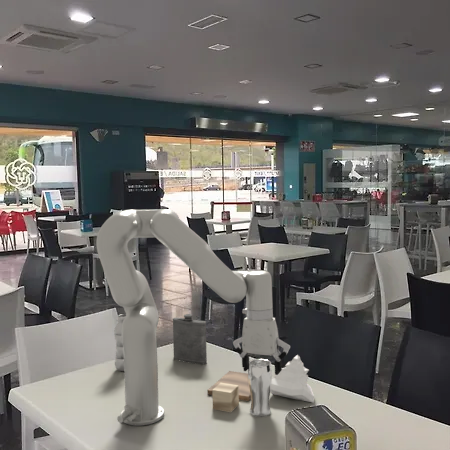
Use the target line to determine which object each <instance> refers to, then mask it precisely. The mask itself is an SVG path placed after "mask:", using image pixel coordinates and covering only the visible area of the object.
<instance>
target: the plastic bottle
mask: <svg viewBox="0 0 450 450" xmlns="http://www.w3.org/2000/svg"><path fill="white" fill-rule="evenodd" d="M125 317H126V314H119V315H117V317H116V318H117V320H116V321H117V323H116V325H115V327H114V330H113V334H114V340H115V359H114V367H115V369H116V370H117V371H120V372H124V352H123V342H122V324H123V321H124V319H125Z"/></svg>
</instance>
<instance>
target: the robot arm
mask: <svg viewBox="0 0 450 450" xmlns="http://www.w3.org/2000/svg"><path fill="white" fill-rule="evenodd" d="M134 238H135V239H137V238H138V239H140V238H141V239H142V238H143V239H144V238H145V239H148V238H156V239H157V240H158V242H160V243H161V244H162V245H163V246H164V247H166V248H167V249H168V250H169V251H170V252H171V253H173V254H174V255H175V256H176V257H177V258H178V259H179V260H180V261H181V262H183V263H184V264H185V265H186V267H188V269H190V270H191V272H193V273H194V274H196V276H197V277H198V278H200V280H202V282H204V284H205V285H206V286H208V288H210V289H211V290H212V291H213V292H215V294H217V295H218V296H219V297H220V298H221V299H223V300H224V302H225V301H226V302H228V303H231V304H232V303H233V304H235V303H239V302H241V301H242V300H243V299H244V298H246V299H245V302H246V308H243V309H242V311H241V312H242V314H243V315H244V314H245V316H246V317H245V318H244V319H243V323H242V324H243V325H242V335H241V337H239V338H237V339H235V340H233V341H232V344H233V347H234V348H235V351H236V353H238V355H239V356H240V358H241V365H242V369H243V372H248V365H249V361H250V356H249V354H251V355H260V356H261V355H263V356H273V358H274V359H275V361H274V375H275V374H276V375H278V374H279V373H280V371H281V370H282V368H283V364H282V360H283V358H285V357H286V356H287V355H288V353H289V350H290V349H291V345H290V344H288V343H287V342H285V341H283V340H282V339H280V338H279V330H278V325H277V321H276V317H274V314H273V310H274V309H273V308H274V307H273V287H272V286H273V284H272V280H273V279H272V275H271V273H270V272H269V271H267V270H253V271H239V270H232V269H230V268H229V266H227V265H226V263H224V262H223V261H222V260H221V259H220V258H219V257H218V256H217V255H216V254H215V253H214V251H213V249H212V248H211V246H210V245H209V244H208V242H206V240H205V239H203V238H202V237H200V235H198V234H197V233H196V232H195V231H194V230H192V229H191V228H190V227H189V226H188V225H187V224H186V223H185V222H184V221H183V220H182V219H181V218H180V216H179V215H178V214H177V212H175V211H174V210H171V209H167V208H166V209H165V208H163V209H162V208H161V209H124V210H121V211H117V212H115V213H113V214H112V215H111V216H109V217H108V218H107V219H106V220H105V221H104V223H103V224H102V225H101V227H100V228H99V231H98V233H97V236H96V251H97V254H98V257H99V261H100V264H101V266H102V270H103V273H104V276H105V279H106V281H107V282H106V283H107V284H108V287H109V291H110V293H111V294H110V295H111V297H112V299H113V300H114V302H115V303H116V304H117V305H118V306H120V307H122V308H123V309H124V312H125V315H126V317H125V319H124V321H123V324H122V342H123V352H124V371H123V373H124V401H125V405H124V407H123V408H124V409H123V410H121V412H120V415H118V416H117V418H116V419H117V422H119V423H121V424H122V423H125V424H126V425H130V426H147V425H151V424H154V423H157V422H159V421H161V420H162V419H163V418H164V416H165V410H164V408H163V407H162V406H161V405H160V404H159V371H158V369H159V368H158V365H159V364H158V347H157V343H158V342H157V328H158V323H159V321H160V315H159V311H158V308H157V304H156V302H155V299H154V297H153V294H152V291H151V288H150V285H149V282H148V279H147V278H146V276H145V275H144V274H143V273H142V272H141V271H139V270H137V269H136V267H135V265H134V261H133V257H132V255H131V253H130V251H129V247H128V244H129V242H130V240H132V239H134ZM240 344H241V345H240ZM280 348H283V350H282V352H281V351H280Z"/></svg>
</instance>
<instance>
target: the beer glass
mask: <svg viewBox="0 0 450 450" xmlns="http://www.w3.org/2000/svg"><path fill="white" fill-rule="evenodd" d="M247 373H248V384H249V390H250V395H251V399H250V406H249V408H250V409H249V413H250V415H252V416H254V417H256V418H257V417H259V418H263V417H267V416H270V415H271V407H270V397H271V395H270V394H271V393H270V390H271V383H272V378H273V375H272V362H271V361H270V360H268V359H264V358H255V359H252V360H249V365H248V370H247Z"/></svg>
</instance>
